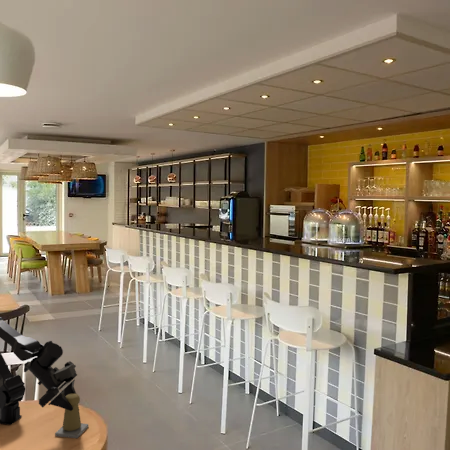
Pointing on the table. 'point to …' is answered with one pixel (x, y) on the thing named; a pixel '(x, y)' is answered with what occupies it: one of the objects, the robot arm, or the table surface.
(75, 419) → the cork
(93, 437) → the table surface
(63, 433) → the coaster
